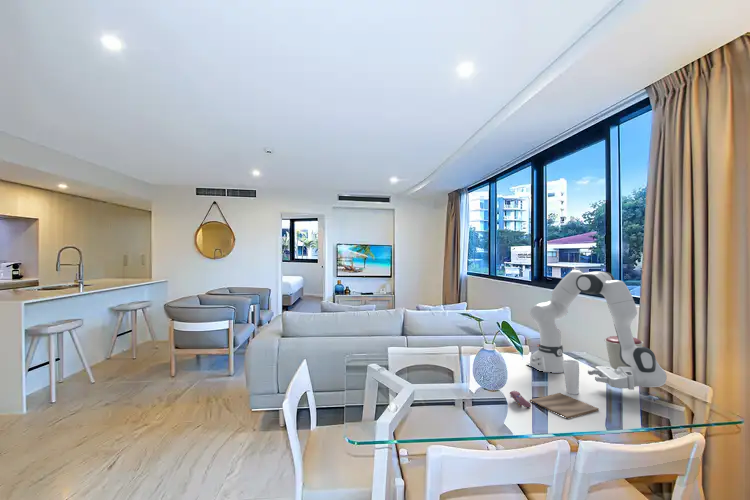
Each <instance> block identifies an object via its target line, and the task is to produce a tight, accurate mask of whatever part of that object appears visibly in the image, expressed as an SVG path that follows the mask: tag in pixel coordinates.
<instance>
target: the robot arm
mask: <svg viewBox="0 0 750 500" xmlns="http://www.w3.org/2000/svg"><path fill="white" fill-rule="evenodd" d="M580 293H584V294H589V295H599V294H600V295H602V296H603V297H604V299H605V301H606V302H605V303H606V304H607V307H608V309H609V310H608V311H609V313H610V316H611V317H612V322H613V325H614V329H615V332H616V336H617V337H618V340H619V344H620V359H621V361H622V362H623V363H624V364H625V365H626V366H628V367H618V368H617V369H614V368H612V367H611V366H606V365H605V366H601V365H597V366H595V368H594V369H591V370H589V369H588V370H587V374H588V376H594V375H597V376H595V377H594V381H596V382H598V383H604V384H607V385H609V386H610V387H611V388H614V389H615V388H617V389H627V390H631V391H632V390H633V391H634V390H635V387H643V388H657V387H658V388H660V387H662V386H664V385H665V384H666V382H667V376H668V375H667V373H666V371H665V370H664V369H663V368H662V367H661V365H660V364H659V362H658V360H657V359H656V354H655V353H654V351H653V350H652V349H650V348H648V347H646V346H642V347H637V346H636V345H635V343H634V339H633V333H632V328H631V324H632V323H633V321H634V319H635V318H636V317H637V315H638V312H637V306H636V305H637V304H636V302H635V300H634V298H633V295H632V293H631V292H630V290H629V288H628V286H627V285H626V282H624V281H623V280H618V279H615V277H614V275H613V274H611V273H610V272H607V271H605V270H604V271H603V270H601V271H598V270H595V271H588V272H583V271H581V270H577V269H573V270H570V272H568V273H567V274H566V275H565V276H564V277H562V279H561V280H560V281H559V282H558V283H557V285H556V286H555V288H554V289H553V290H552V292H551V295H552V296H551V297H550V299H549V300H548V301H544V302H539V303H536V304H535V305H532V307H531V308H530V309H529V314H530V318H531V319H532V320H533V321H534V322H535V323H536V325H537V329H538V330H539V339H540V344H538V345H536V347H537V348H538V350H536V351H535V352H533V353H532V354H531V355H530V357H529V359H530V360H529V361H528V362H530V363H528V362H526V363H527V364H528V365H530V366H532V367H534V368H536V369H537V370H539V371H543V372H542V373H550V372H552V373H553V374H554V373H555V374H557V373H558V374H559V373H560V374H561V373H564V370H563V361H564V360H565V359H564V354H563V353H564V351H563V350H564V347H563V344H562V331H561V330H560V329H559V328H558V327H557V324H556V321H558V320H561V319H563V318H564V317H566V316H567V315H568V313H569V311H568V310H569V307H570V305H571V304H572V302H573V301H574V300H575V299H576V298H577V296H578V295H579V294H580ZM537 370H536V371H537ZM539 371H538V372H539ZM552 373H551V374H552Z"/></svg>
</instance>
